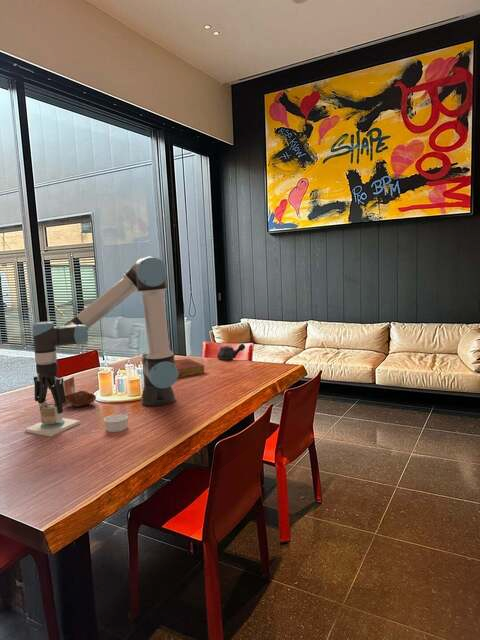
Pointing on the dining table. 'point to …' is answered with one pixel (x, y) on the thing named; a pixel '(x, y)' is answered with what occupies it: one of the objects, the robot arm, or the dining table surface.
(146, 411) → the dining table surface
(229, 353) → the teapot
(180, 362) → the book
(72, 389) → the small box
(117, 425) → the ramekin
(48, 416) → the maple ring
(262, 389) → the dining table surface
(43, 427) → the post stand
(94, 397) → the fossil
